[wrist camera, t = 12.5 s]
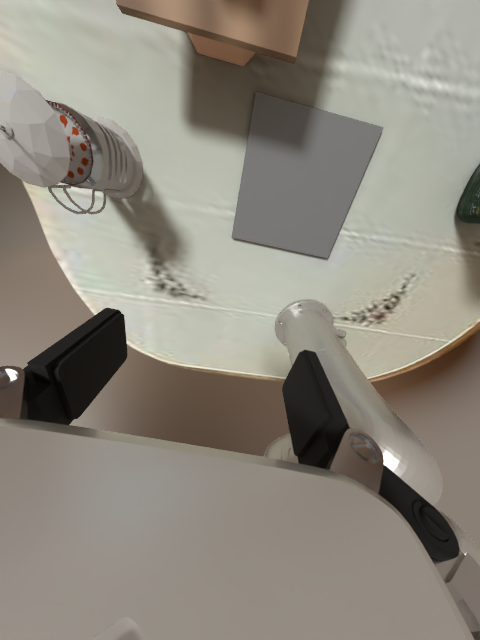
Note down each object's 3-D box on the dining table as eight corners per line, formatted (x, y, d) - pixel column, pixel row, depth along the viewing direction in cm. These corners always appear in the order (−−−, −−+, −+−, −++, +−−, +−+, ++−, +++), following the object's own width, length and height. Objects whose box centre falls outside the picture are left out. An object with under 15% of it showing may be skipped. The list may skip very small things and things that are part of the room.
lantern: (133, 117, 27) (-274, -193, 6) (151, 211, 33) (-17, 229, 12) (64, 116, 27) (-581, -190, 6) (94, 210, 33) (-173, 226, 12)
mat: (380, 128, 27) (383, 127, 27) (326, 257, 36) (327, 258, 36) (255, 93, 26) (255, 91, 25) (231, 236, 35) (231, 237, 34)
